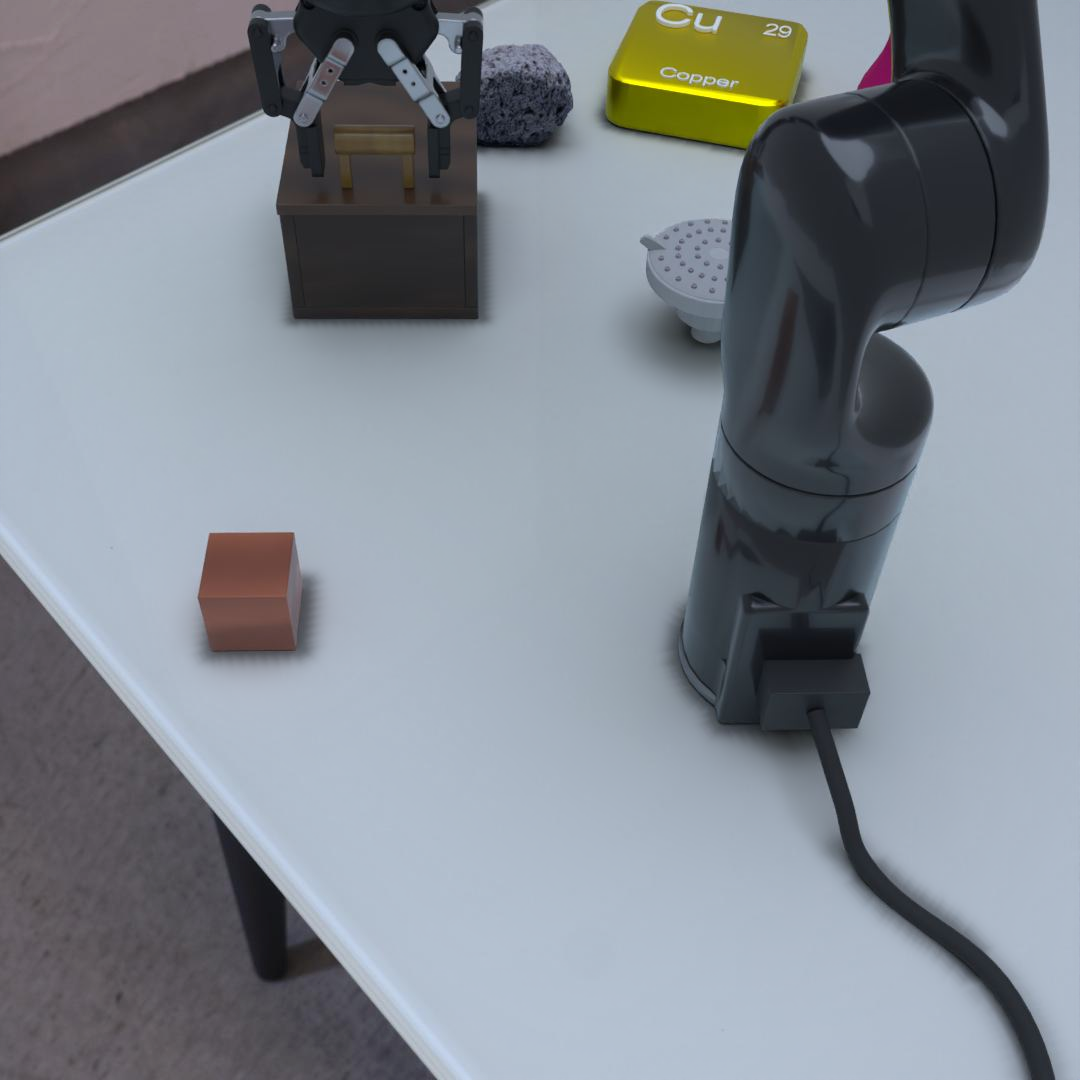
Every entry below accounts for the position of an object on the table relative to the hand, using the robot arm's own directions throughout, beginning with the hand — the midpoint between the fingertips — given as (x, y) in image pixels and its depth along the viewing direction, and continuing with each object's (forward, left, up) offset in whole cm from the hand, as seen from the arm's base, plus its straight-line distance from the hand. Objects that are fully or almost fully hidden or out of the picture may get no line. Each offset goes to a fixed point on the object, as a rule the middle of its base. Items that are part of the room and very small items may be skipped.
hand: (377, 170), depth 84 cm
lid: (+6, 0, -2) cm, 6 cm away
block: (-28, +6, -11) cm, 31 cm away
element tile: (+29, -26, -11) cm, 40 cm away
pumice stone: (+24, -10, -11) cm, 28 cm away
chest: (+6, 0, -11) cm, 12 cm away
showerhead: (-3, -22, -11) cm, 25 cm away
